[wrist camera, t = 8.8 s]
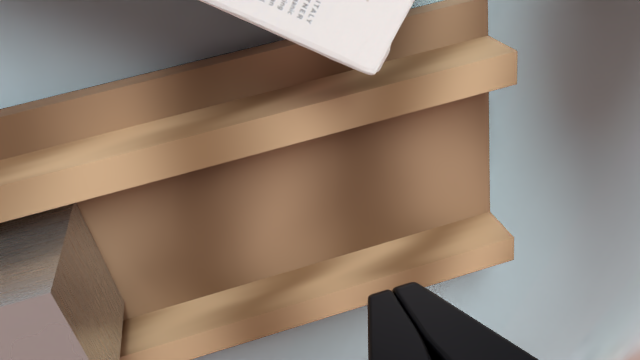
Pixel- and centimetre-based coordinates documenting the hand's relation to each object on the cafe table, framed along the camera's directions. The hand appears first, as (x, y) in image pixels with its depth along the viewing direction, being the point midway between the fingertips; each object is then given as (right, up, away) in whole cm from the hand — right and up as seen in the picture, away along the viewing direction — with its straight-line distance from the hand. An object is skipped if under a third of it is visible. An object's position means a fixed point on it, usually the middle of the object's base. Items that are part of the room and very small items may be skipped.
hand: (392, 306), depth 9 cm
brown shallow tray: (-6, +1, +13) cm, 14 cm away
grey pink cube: (-12, -1, +11) cm, 16 cm away
